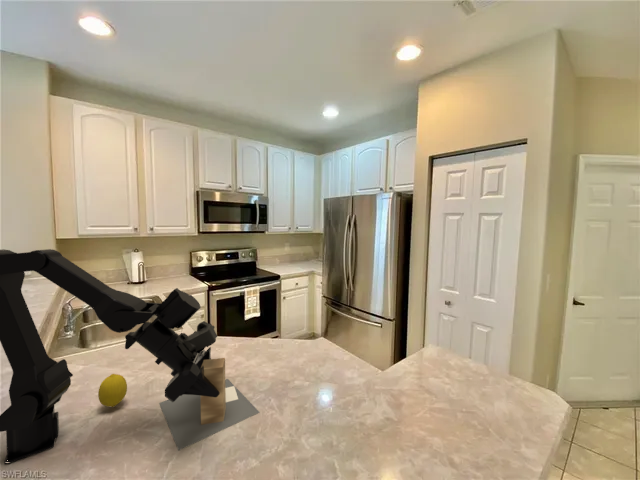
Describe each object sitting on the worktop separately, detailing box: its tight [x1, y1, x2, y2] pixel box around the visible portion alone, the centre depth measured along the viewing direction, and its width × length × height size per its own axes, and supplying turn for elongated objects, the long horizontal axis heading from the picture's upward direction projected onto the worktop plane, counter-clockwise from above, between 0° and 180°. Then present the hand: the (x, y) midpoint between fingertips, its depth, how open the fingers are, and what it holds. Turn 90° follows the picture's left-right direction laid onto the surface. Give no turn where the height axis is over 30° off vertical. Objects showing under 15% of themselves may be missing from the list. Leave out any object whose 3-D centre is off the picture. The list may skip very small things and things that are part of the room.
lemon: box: [97, 373, 128, 408], centre depth 66 cm, size 6×6×8 cm
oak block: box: [201, 357, 226, 425], centre depth 62 cm, size 5×5×12 cm
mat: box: [158, 378, 260, 451], centre depth 65 cm, size 17×19×1 cm
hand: (220, 387), depth 62 cm, fingers open, 6 cm apart
